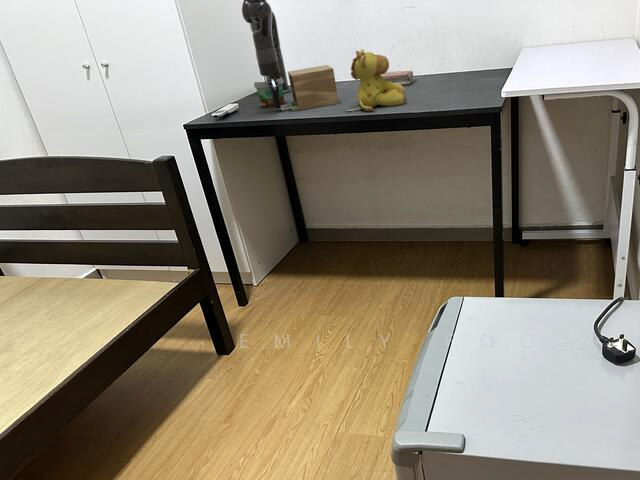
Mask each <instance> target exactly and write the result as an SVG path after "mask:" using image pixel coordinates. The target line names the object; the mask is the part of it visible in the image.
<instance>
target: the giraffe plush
mask: <svg viewBox="0 0 640 480" xmlns="http://www.w3.org/2000/svg"><path fill="white" fill-rule="evenodd" d="M355 55H356V56H355V57H353V59H352V63H351V66H350V71H351V73H350V76H351V78H352V79H354V80H355V81H358V80H360V84H359V86H358V89H357V102H358V103H359V105H360V106H357V107H354V108H351V109H346V110H345V111H346V112H354V111H358V110H359V111H360V110H364V111H366V112H373V111H374V108H375V107H376V106H378V105H380V106H382V107H394V106H400V105H404V104H405V103H406V89H405V88H404V87H403V86H404V85H403V86H402V85H400V84H397V83H392V82H390V81H387V80H385V79H383V78H382V76H381V75H380V74H384V73H386V72H388V71H389V69H390V61H389V59H388V57H387V56H385V55H383V54H374V53H373V52H369V51H367V52H365V50H364V49H363V48H362V49H360V51H359V50H355Z"/></svg>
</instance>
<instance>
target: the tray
mask: <svg viewBox="0 0 640 480" xmlns="http://www.w3.org/2000/svg"><path fill="white" fill-rule="evenodd" d="M287 103H288V104H283V105H281V108H279V109H280V110H281V111H285V110H291V111H292V112H294V111H299V110H298V105H297V101H296V102H294V101H291V102H287Z"/></svg>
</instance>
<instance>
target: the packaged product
mask: <svg viewBox="0 0 640 480" xmlns="http://www.w3.org/2000/svg"><path fill="white" fill-rule="evenodd" d="M380 75H381V76H382V78H383V79H385V80H387V81H390V82H392V83H397V84H400V85H402V86H409V85H410V84H412V83H413V82H415V81H416V77H415V76H414V71H413V70H400V71H387V72H386V73H384V74H380Z"/></svg>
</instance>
